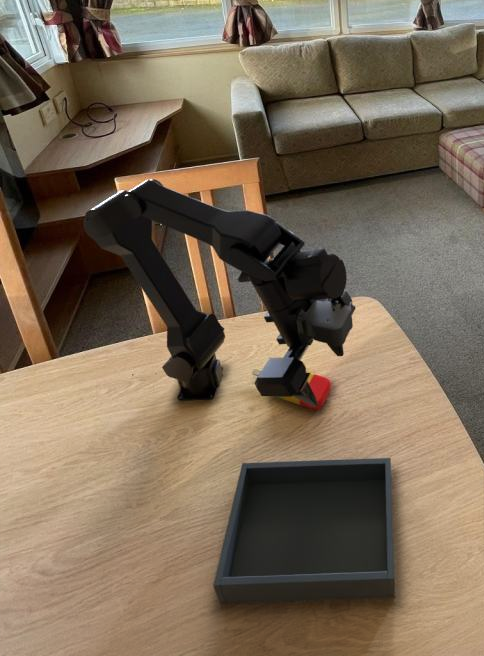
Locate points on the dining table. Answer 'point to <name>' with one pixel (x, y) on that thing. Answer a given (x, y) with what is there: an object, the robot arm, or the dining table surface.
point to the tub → (309, 533)
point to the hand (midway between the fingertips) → (328, 379)
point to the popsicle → (317, 385)
